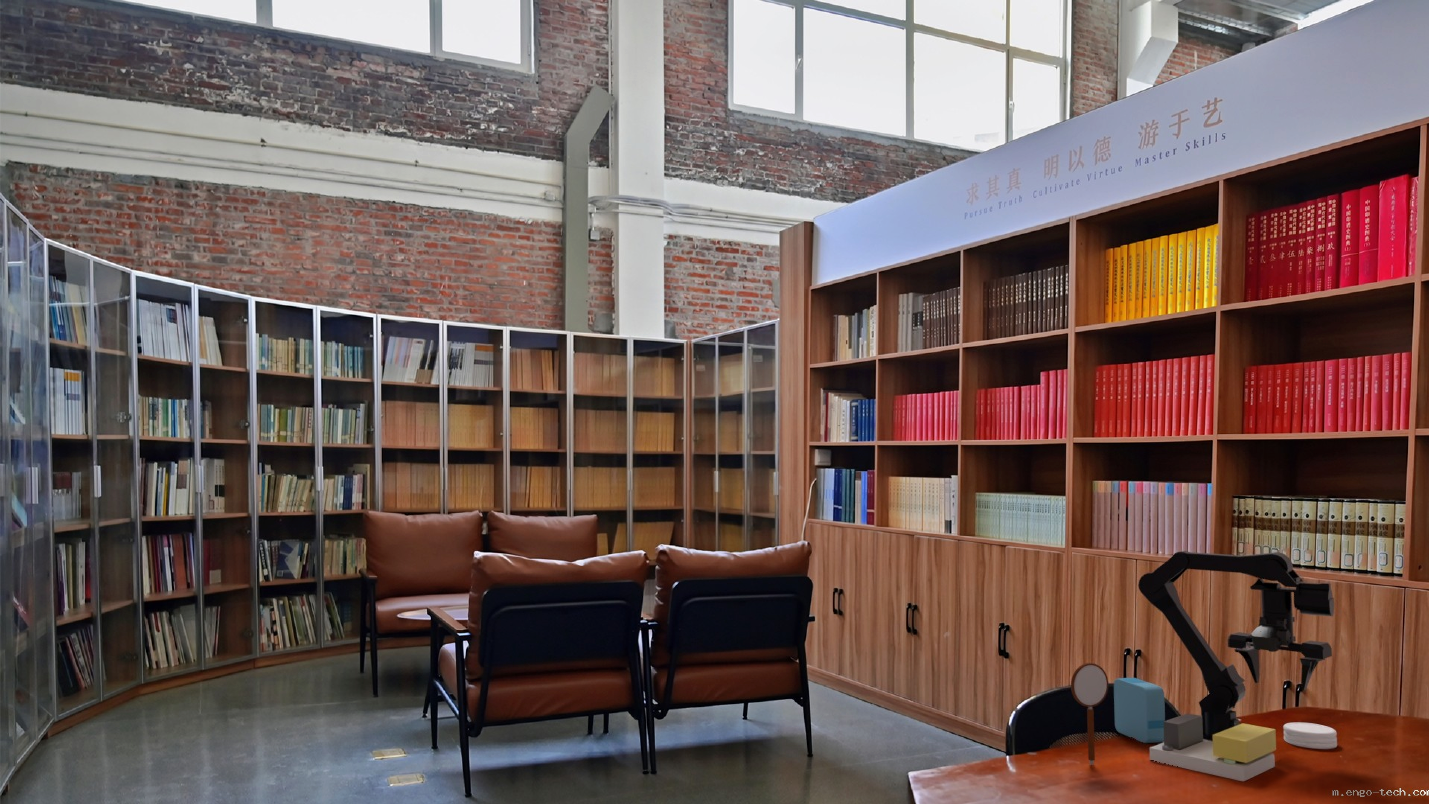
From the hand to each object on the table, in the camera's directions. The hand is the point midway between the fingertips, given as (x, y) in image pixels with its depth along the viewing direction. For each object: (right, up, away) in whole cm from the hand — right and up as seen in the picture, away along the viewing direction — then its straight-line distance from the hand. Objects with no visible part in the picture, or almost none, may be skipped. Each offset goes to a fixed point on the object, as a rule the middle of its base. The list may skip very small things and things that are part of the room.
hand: (1279, 686), depth 210 cm
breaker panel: (-20, -12, -12) cm, 26 cm away
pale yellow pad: (-16, -9, -15) cm, 24 cm away
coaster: (+9, -14, +4) cm, 17 cm away
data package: (-26, -14, +8) cm, 31 cm away
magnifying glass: (-45, -12, -13) cm, 48 cm away
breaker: (-23, -10, -6) cm, 26 cm away
